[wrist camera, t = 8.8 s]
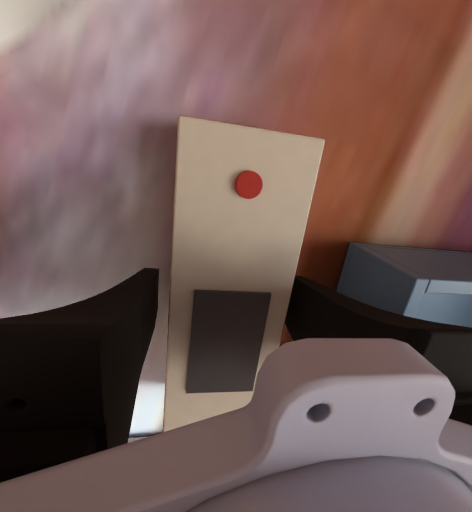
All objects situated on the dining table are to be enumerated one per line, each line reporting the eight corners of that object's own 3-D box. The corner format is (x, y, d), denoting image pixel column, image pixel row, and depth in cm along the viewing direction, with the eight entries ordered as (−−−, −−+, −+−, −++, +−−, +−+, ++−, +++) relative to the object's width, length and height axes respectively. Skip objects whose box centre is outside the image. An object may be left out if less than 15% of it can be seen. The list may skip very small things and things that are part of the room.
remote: (167, 384, 15) (162, 440, 12) (181, 125, 11) (177, 113, 8) (249, 382, 16) (262, 433, 13) (293, 143, 11) (329, 138, 8)
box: (286, 463, 19) (311, 544, 15) (349, 242, 14) (417, 278, 10) (435, 449, 22) (490, 516, 18) (541, 257, 16) (659, 292, 12)
